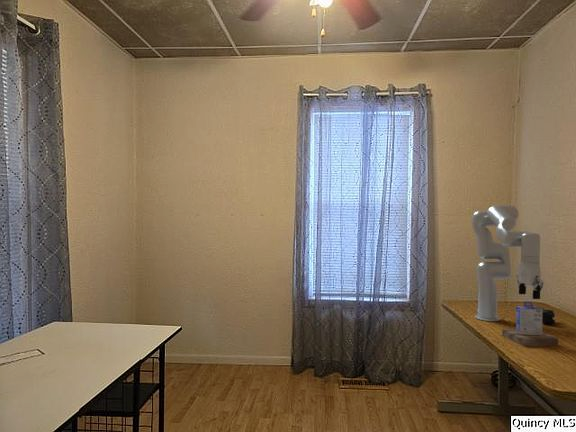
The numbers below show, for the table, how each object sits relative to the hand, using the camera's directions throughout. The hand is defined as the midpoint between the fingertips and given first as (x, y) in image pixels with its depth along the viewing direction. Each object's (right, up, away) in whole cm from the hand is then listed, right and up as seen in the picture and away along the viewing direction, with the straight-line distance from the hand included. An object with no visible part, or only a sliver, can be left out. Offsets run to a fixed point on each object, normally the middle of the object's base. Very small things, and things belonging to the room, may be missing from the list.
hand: (529, 296), depth 194 cm
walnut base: (0, -20, 0) cm, 20 cm away
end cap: (+27, -20, +31) cm, 46 cm away
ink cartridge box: (0, -17, 0) cm, 17 cm away
